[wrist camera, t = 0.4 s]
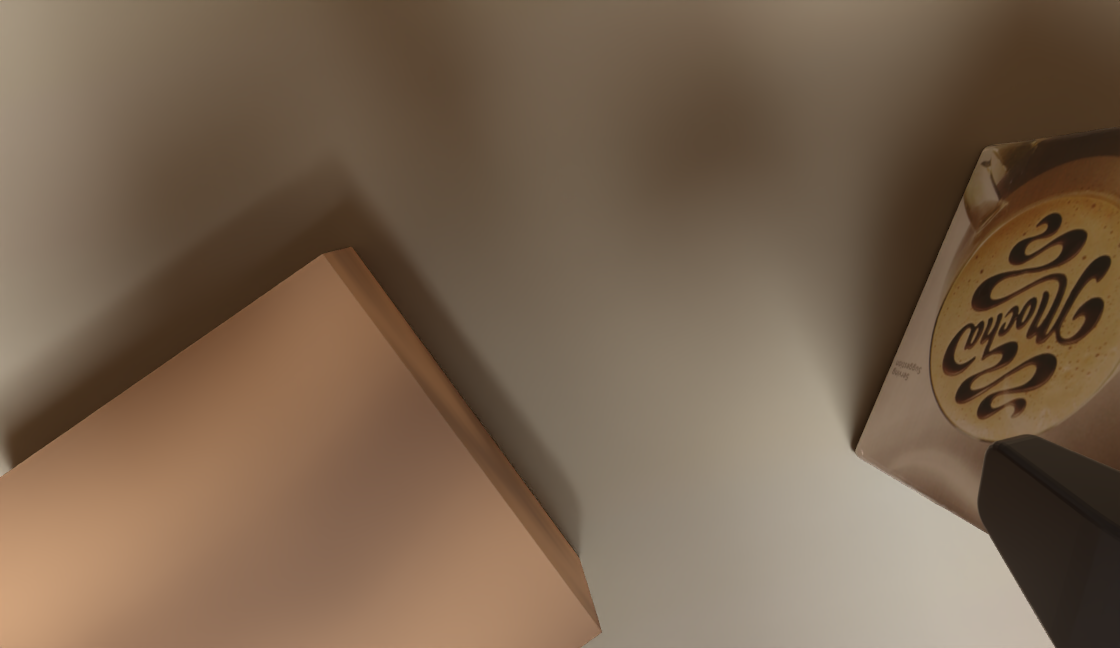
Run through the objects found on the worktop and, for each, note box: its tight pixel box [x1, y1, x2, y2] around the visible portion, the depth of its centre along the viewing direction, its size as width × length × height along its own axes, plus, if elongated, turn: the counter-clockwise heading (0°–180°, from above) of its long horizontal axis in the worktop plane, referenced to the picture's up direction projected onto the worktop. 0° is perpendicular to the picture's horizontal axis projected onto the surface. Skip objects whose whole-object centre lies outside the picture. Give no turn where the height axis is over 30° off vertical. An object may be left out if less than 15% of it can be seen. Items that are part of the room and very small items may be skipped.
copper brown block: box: [0, 247, 602, 648], centre depth 19 cm, size 10×10×4 cm
